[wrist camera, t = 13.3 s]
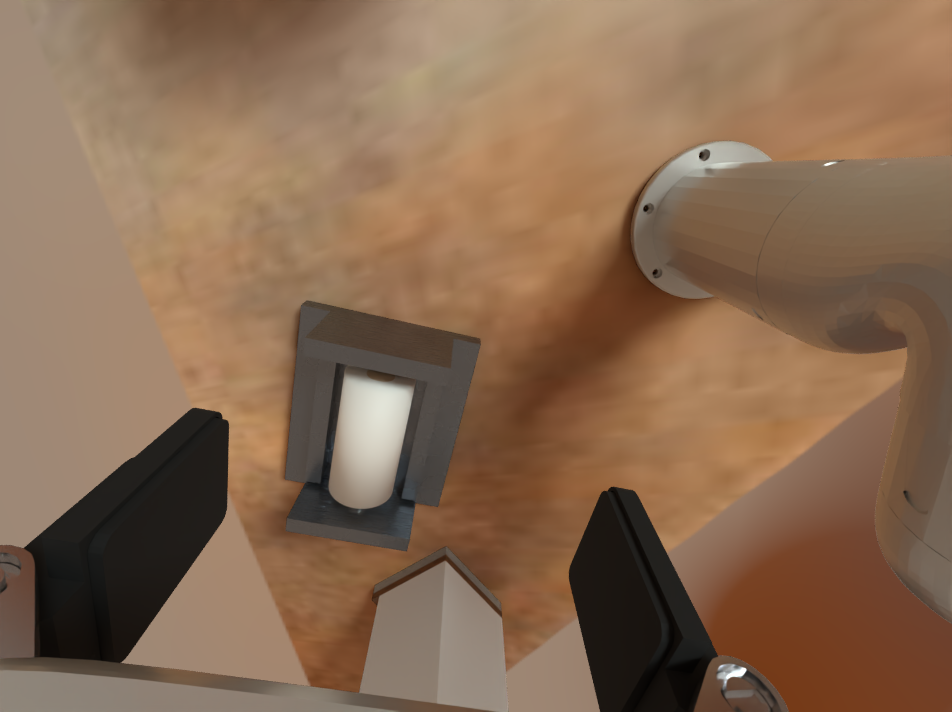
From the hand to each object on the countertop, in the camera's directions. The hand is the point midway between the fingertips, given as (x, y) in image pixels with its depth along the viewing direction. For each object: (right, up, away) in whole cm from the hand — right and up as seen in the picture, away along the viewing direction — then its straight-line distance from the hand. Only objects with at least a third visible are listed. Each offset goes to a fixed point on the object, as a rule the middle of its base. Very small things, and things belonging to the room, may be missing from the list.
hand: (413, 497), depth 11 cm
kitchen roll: (-8, -3, +29) cm, 30 cm away
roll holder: (-8, -2, +33) cm, 34 cm away
